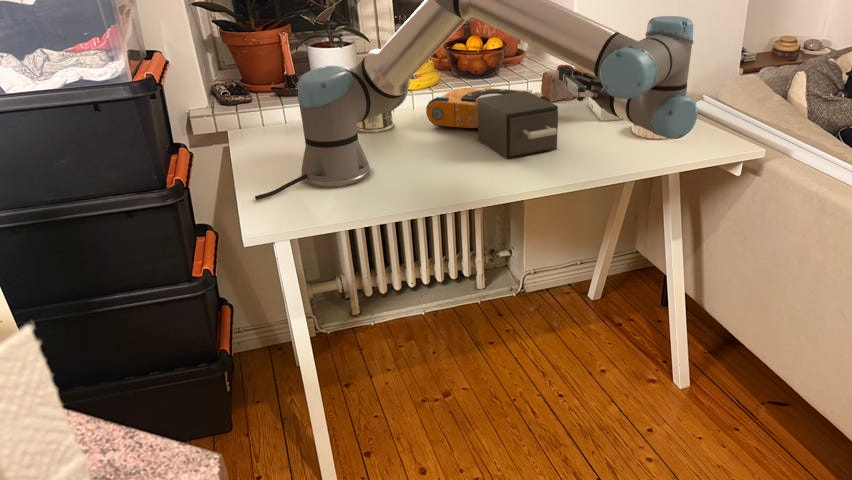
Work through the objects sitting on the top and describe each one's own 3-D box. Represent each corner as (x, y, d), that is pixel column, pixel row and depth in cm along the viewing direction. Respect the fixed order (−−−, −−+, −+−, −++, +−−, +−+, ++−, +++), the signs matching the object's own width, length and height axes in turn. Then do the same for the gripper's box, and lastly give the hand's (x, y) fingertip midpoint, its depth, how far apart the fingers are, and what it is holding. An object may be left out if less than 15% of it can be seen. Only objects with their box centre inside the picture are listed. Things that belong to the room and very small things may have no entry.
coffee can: (382, 118, 197) (377, 68, 190) (399, 127, 190) (395, 75, 183) (348, 125, 192) (342, 73, 185) (365, 135, 185) (359, 81, 178)
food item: (573, 91, 218) (575, 59, 213) (590, 96, 212) (592, 63, 207) (538, 98, 212) (538, 65, 207) (554, 104, 206) (555, 70, 201)
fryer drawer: (566, 152, 167) (567, 116, 162) (519, 161, 162) (520, 124, 158) (527, 130, 182) (528, 97, 177) (484, 138, 177) (483, 103, 173)
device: (453, 77, 203) (553, 84, 194) (454, 106, 207) (553, 113, 198) (422, 98, 185) (531, 106, 175) (424, 128, 189) (531, 137, 179)
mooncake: (688, 134, 179) (690, 121, 177) (651, 142, 175) (652, 128, 173) (658, 122, 189) (660, 109, 187) (622, 129, 184) (623, 116, 182)
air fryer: (556, 149, 172) (557, 105, 167) (506, 158, 167) (506, 114, 162) (525, 131, 184) (525, 90, 179) (478, 139, 179) (477, 98, 174)
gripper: (597, 123, 129) (534, 94, 148) (654, 113, 134) (586, 86, 153) (600, 83, 126) (535, 58, 145) (658, 74, 131) (588, 51, 149)
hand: (561, 72), depth 149 cm, fingers closed
